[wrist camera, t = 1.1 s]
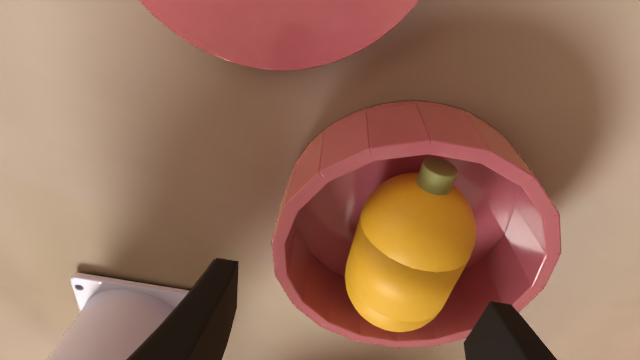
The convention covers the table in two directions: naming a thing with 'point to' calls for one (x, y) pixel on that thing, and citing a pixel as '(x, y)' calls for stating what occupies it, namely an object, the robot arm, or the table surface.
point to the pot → (400, 158)
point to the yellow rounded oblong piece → (410, 247)
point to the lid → (280, 28)
